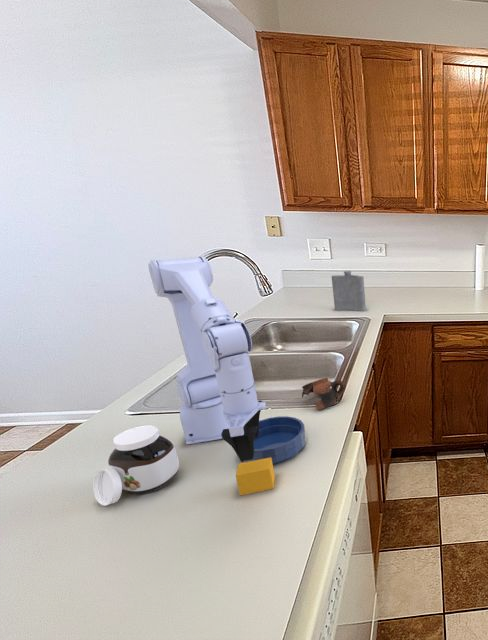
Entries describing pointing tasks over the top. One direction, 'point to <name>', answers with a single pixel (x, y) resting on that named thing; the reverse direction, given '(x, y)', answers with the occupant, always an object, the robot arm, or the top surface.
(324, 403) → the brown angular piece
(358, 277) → the hip flask
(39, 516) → the top surface
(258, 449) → the bowl
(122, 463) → the spread jar
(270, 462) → the sponge
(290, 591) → the top surface
